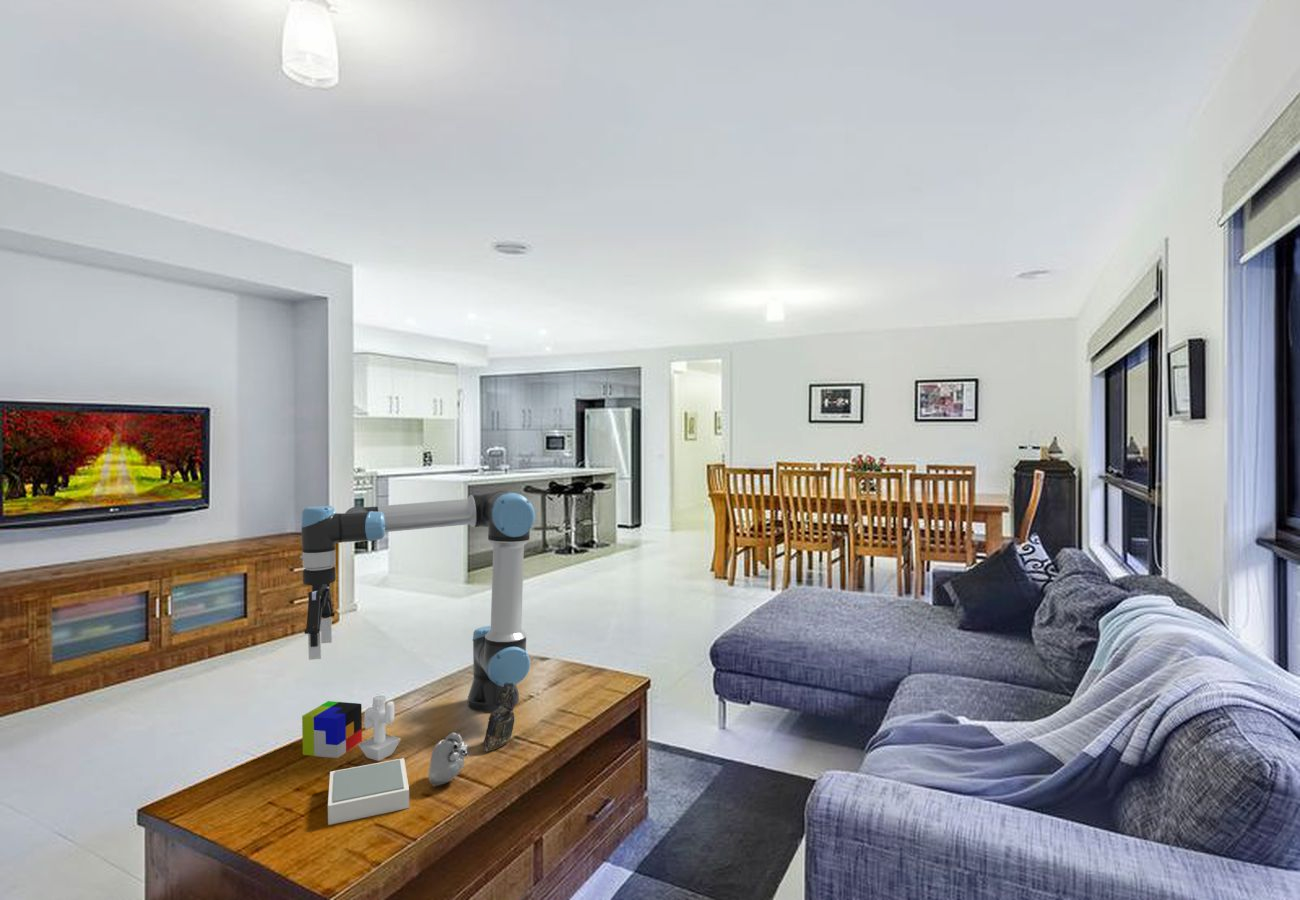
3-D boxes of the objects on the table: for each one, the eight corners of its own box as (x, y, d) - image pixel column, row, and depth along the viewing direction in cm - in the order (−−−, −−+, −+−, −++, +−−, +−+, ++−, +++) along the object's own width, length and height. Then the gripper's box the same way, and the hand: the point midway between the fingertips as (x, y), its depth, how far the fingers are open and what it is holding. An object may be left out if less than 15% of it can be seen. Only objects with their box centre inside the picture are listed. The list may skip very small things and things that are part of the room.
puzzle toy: (337, 758, 172) (336, 719, 171) (302, 754, 174) (302, 716, 173) (362, 740, 181) (361, 703, 181) (328, 737, 183) (328, 701, 183)
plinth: (404, 774, 163) (404, 756, 163) (409, 807, 148) (409, 788, 148) (330, 788, 156) (330, 770, 156) (328, 825, 142) (327, 804, 142)
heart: (448, 764, 167) (441, 719, 165) (478, 772, 163) (471, 726, 161) (417, 790, 158) (409, 743, 156) (448, 799, 154) (440, 751, 152)
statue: (475, 751, 175) (475, 693, 174) (504, 733, 185) (504, 678, 185) (493, 755, 172) (492, 696, 172) (521, 736, 183) (521, 681, 183)
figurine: (378, 745, 178) (377, 689, 178) (404, 753, 174) (403, 695, 173) (355, 757, 172) (354, 698, 171) (381, 765, 167) (380, 705, 167)
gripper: (313, 559, 184) (315, 637, 184) (290, 578, 160) (292, 667, 160) (343, 558, 186) (345, 635, 186) (325, 576, 162) (327, 664, 162)
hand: (320, 650), depth 173 cm, fingers open, 13 cm apart
